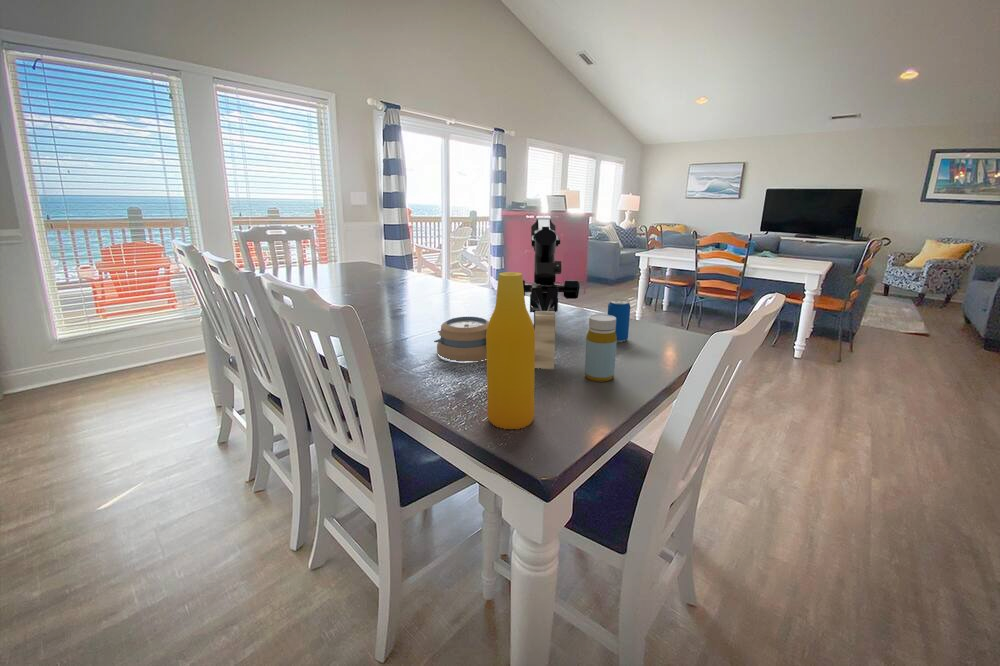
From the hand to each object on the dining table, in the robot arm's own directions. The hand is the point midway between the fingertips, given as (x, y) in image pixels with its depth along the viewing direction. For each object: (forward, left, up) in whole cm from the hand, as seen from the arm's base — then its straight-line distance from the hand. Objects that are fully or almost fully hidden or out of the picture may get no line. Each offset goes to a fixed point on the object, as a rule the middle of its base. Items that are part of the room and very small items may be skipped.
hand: (544, 315), depth 119 cm
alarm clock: (-10, -16, -12) cm, 22 cm away
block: (+6, -3, -12) cm, 14 cm away
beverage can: (-5, +27, -12) cm, 30 cm away
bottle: (+18, +6, -12) cm, 23 cm away
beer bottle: (+30, -22, -12) cm, 39 cm away
